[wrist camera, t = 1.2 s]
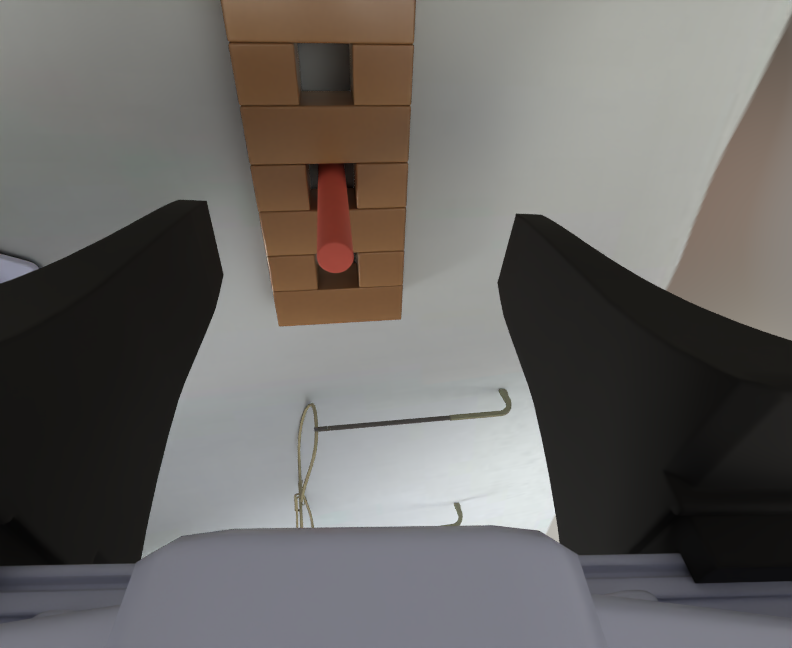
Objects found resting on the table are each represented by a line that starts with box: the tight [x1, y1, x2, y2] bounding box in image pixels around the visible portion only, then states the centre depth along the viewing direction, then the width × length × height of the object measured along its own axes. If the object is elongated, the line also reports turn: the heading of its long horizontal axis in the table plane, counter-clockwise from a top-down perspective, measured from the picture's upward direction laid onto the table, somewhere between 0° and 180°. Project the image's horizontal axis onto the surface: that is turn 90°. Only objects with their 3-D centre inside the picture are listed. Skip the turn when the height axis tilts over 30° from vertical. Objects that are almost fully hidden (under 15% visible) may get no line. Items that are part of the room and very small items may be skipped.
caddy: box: [220, 0, 416, 326], centre depth 20 cm, size 15×6×2 cm, turn 178°
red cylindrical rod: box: [317, 163, 354, 273], centre depth 18 cm, size 1×1×8 cm
